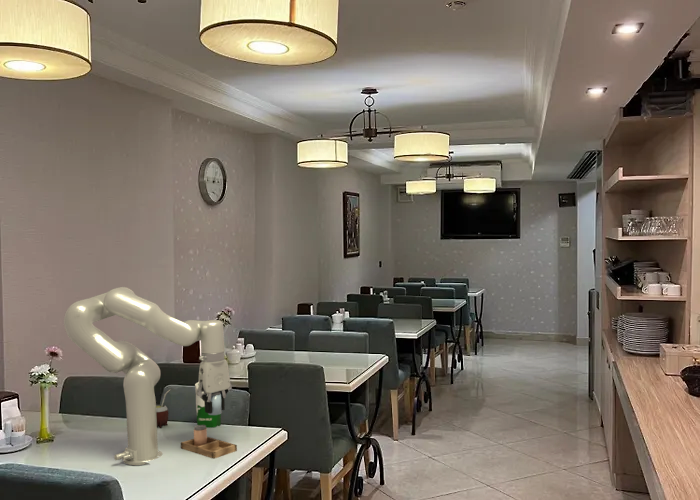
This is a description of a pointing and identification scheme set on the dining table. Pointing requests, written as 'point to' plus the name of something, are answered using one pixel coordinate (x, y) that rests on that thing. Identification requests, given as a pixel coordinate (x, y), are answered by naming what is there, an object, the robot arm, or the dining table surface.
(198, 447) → the caddy
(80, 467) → the dining table surface
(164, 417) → the mate gourd
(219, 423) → the milk carton
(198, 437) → the pepper shaker
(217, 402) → the salt shaker
